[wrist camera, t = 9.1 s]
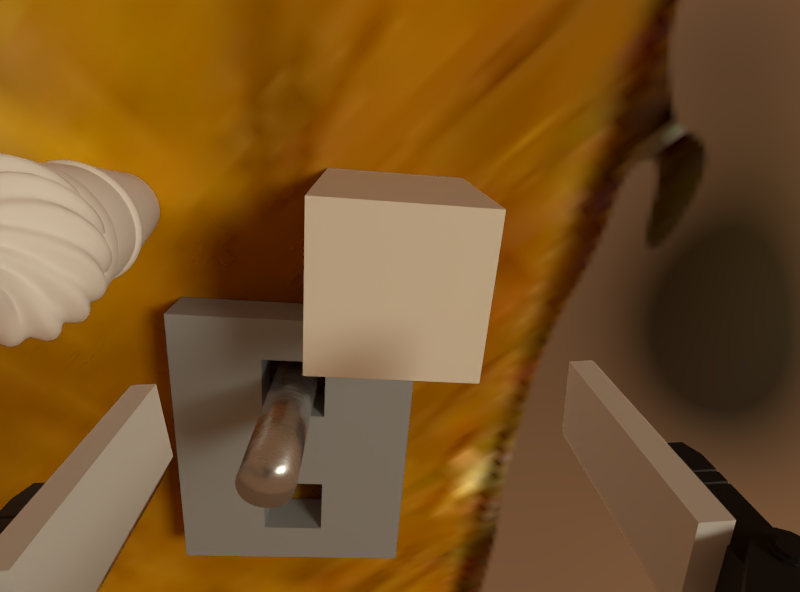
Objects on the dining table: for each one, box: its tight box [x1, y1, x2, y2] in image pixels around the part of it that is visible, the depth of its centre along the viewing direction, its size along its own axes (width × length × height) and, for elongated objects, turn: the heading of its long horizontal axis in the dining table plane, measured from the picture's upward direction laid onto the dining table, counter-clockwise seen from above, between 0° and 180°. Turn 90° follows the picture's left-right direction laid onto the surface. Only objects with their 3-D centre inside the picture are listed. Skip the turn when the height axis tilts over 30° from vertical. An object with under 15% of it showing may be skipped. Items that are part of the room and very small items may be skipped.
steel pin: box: [235, 361, 319, 508], centre depth 30 cm, size 3×3×12 cm
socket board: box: [164, 297, 413, 558], centre depth 36 cm, size 16×20×3 cm
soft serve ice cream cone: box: [0, 153, 160, 347], centre depth 23 cm, size 8×8×16 cm
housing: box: [303, 168, 506, 383], centre depth 27 cm, size 9×9×11 cm
